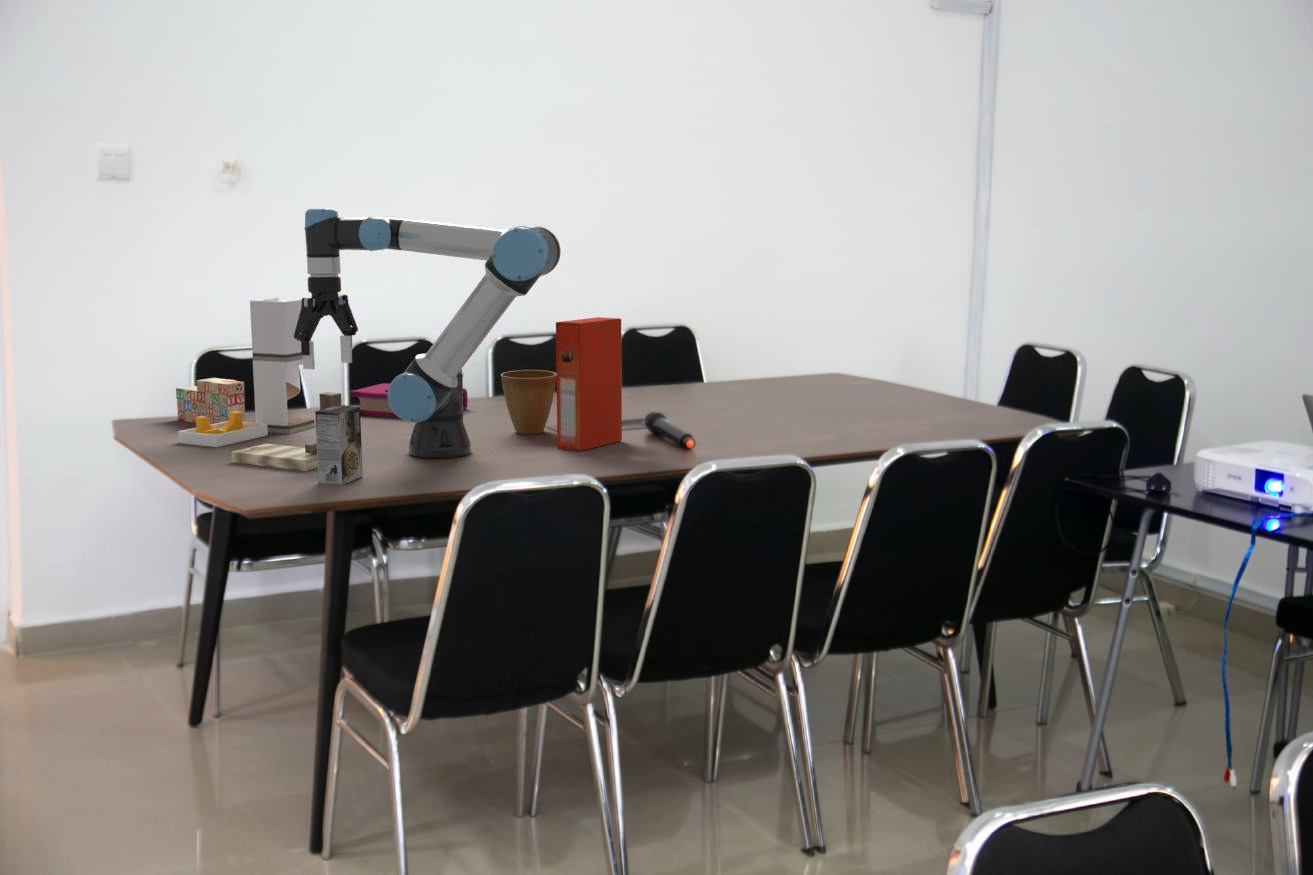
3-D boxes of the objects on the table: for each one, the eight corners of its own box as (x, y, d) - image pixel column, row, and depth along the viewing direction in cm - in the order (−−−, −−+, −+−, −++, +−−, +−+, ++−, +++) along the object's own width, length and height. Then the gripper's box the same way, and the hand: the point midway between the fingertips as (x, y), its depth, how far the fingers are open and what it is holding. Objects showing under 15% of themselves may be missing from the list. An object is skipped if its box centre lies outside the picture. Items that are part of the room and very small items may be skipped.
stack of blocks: (177, 420, 359) (174, 377, 357) (195, 417, 364) (193, 374, 362) (228, 428, 348) (225, 383, 345) (246, 425, 353) (244, 380, 351)
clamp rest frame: (267, 435, 337) (267, 424, 336) (216, 447, 320) (216, 435, 320) (230, 431, 342) (230, 420, 341) (178, 442, 325) (178, 431, 325)
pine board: (339, 461, 304) (338, 451, 303) (306, 470, 293) (305, 460, 292) (266, 453, 313) (266, 443, 312) (231, 462, 302) (231, 451, 301)
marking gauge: (345, 457, 306) (342, 393, 303) (317, 464, 297) (315, 399, 295) (328, 455, 308) (325, 392, 306) (300, 462, 299) (298, 397, 297)
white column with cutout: (290, 433, 339) (284, 301, 333) (256, 431, 343) (249, 300, 336) (314, 427, 350) (309, 299, 344) (281, 424, 353) (275, 297, 347)
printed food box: (338, 474, 289) (335, 404, 286) (363, 476, 287) (361, 406, 285) (316, 483, 281) (313, 410, 278) (342, 485, 279) (340, 412, 276)
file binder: (556, 448, 323) (555, 321, 317) (596, 438, 337) (596, 316, 331) (581, 451, 319) (581, 323, 313) (621, 441, 333) (622, 318, 327)
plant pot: (496, 428, 349) (496, 370, 346) (549, 426, 354) (549, 369, 351) (507, 438, 335) (506, 378, 333) (562, 435, 340) (562, 376, 337)
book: (386, 404, 391) (385, 380, 390) (468, 410, 382) (467, 385, 381) (348, 415, 372) (347, 389, 371) (433, 421, 363) (433, 395, 362)
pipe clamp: (206, 443, 326) (205, 418, 324) (197, 441, 328) (195, 416, 327) (247, 437, 335) (246, 412, 334) (237, 435, 338) (236, 411, 336)
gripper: (345, 272, 311) (349, 359, 315) (274, 277, 289) (279, 371, 293) (370, 273, 308) (374, 360, 312) (300, 278, 286) (305, 372, 290)
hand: (328, 366), depth 302 cm, fingers open, 13 cm apart
